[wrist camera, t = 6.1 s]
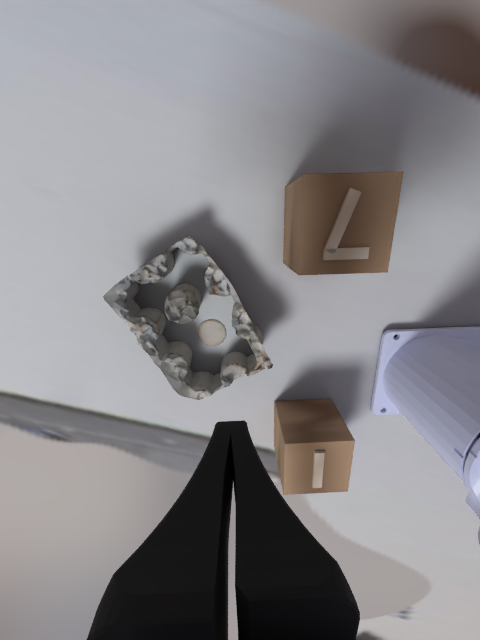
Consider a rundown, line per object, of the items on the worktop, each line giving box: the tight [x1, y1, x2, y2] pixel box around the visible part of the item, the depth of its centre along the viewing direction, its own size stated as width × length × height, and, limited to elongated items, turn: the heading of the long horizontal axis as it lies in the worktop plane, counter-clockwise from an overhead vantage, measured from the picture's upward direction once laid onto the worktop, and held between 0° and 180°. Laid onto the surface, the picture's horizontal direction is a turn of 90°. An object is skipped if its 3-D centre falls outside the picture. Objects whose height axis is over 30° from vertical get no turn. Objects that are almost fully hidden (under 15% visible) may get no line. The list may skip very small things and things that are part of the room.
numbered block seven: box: [283, 172, 403, 275], centre depth 16 cm, size 5×5×5 cm
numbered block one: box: [274, 398, 355, 495], centre depth 22 cm, size 5×5×5 cm
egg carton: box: [103, 236, 273, 400], centre depth 19 cm, size 11×8×4 cm
